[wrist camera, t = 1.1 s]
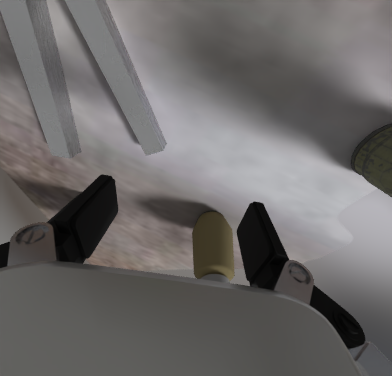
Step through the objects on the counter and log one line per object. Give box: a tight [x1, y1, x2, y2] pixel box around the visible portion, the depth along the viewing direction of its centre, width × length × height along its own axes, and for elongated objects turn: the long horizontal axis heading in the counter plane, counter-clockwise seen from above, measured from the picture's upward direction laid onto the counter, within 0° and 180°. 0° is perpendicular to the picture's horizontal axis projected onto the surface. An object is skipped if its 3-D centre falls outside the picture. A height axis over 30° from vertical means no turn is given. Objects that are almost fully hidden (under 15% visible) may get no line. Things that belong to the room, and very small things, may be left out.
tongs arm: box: [65, 0, 167, 156], centre depth 20 cm, size 20×3×3 cm, turn 18°
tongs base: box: [0, 0, 82, 158], centre depth 18 cm, size 27×7×4 cm, turn 169°
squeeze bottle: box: [192, 211, 234, 283], centre depth 28 cm, size 8×8×18 cm
